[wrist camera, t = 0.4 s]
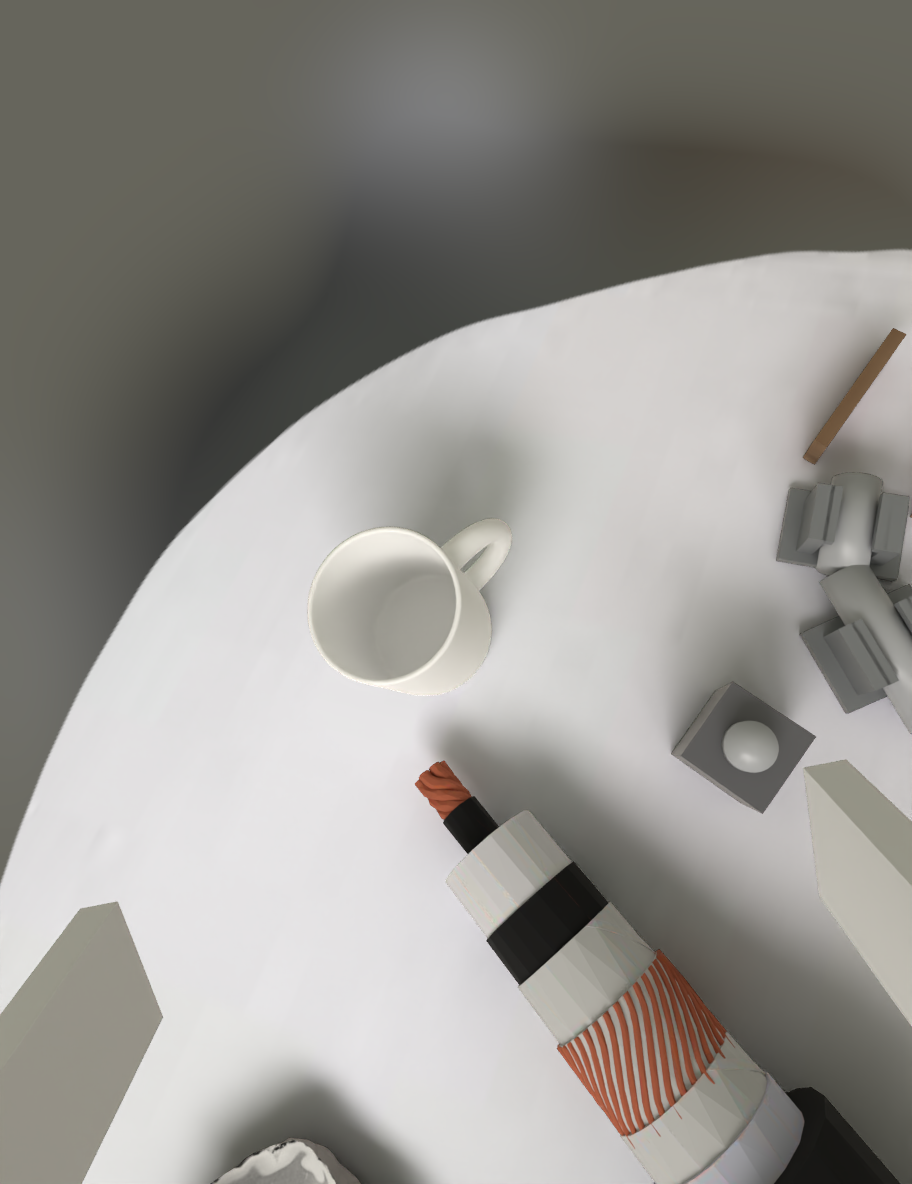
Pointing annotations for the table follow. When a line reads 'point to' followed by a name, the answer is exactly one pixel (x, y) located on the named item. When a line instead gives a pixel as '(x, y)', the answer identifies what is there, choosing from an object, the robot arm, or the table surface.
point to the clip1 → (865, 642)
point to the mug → (407, 607)
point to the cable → (636, 1018)
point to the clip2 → (845, 526)
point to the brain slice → (290, 1166)
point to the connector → (743, 746)
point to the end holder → (854, 396)
